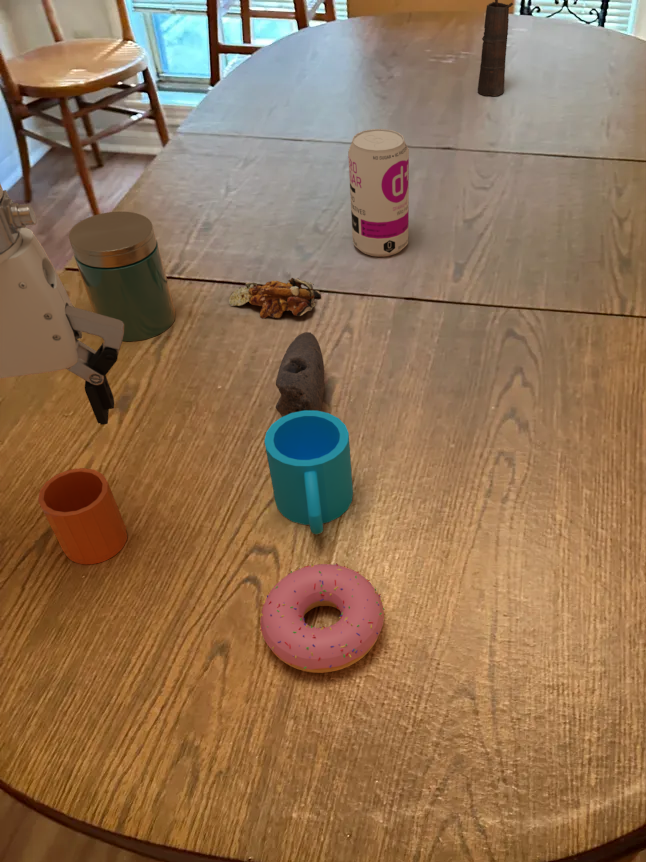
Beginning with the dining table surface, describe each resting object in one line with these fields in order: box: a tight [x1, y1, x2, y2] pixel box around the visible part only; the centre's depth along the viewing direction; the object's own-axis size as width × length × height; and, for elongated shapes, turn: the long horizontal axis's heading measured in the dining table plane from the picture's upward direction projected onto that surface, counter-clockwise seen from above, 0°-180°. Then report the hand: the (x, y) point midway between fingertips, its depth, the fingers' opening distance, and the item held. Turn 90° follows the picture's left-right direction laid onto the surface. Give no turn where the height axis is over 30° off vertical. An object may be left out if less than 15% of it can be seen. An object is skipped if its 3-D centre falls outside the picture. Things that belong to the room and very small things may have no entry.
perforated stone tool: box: [275, 331, 325, 417], centre depth 90 cm, size 15×5×7 cm, turn 178°
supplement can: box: [347, 128, 410, 258], centre depth 111 cm, size 8×8×15 cm
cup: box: [37, 467, 128, 565], centre depth 75 cm, size 6×6×7 cm
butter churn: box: [477, 0, 514, 97], centre depth 146 cm, size 9×10×28 cm
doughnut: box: [258, 562, 385, 674], centre depth 69 cm, size 11×11×4 cm
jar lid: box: [68, 211, 157, 268], centre depth 95 cm, size 10×10×2 cm
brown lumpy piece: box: [228, 277, 322, 319], centre depth 105 cm, size 7×12×4 cm, turn 82°
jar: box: [73, 239, 176, 342], centre depth 99 cm, size 10×10×12 cm
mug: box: [264, 410, 354, 535], centre depth 78 cm, size 12×8×8 cm
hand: (46, 422), depth 67 cm, fingers open, 9 cm apart
